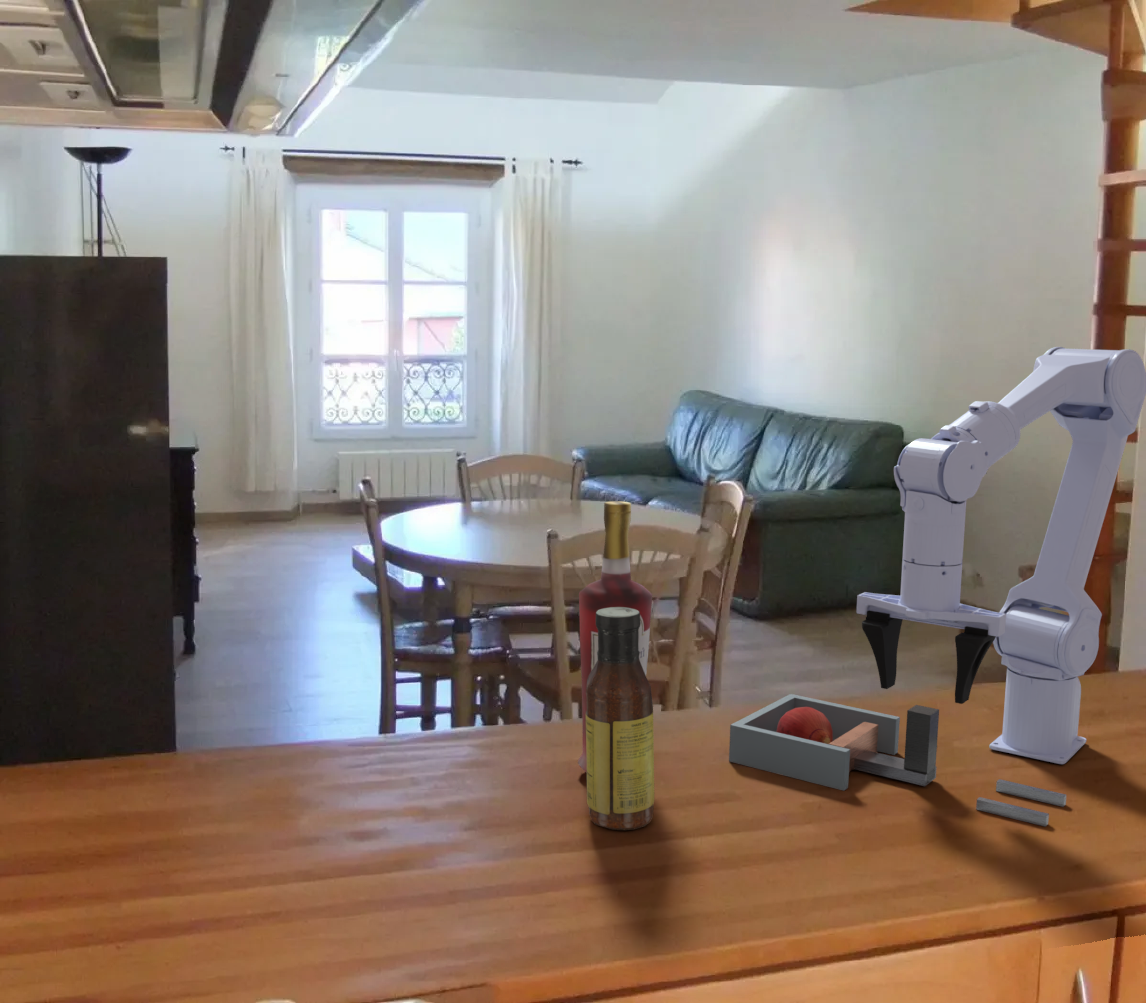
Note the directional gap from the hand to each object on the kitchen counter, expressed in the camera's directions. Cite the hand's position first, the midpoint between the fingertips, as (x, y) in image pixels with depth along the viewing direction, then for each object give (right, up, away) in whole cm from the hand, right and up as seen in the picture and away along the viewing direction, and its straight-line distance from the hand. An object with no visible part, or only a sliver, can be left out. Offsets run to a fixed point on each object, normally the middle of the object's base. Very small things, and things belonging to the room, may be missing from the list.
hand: (924, 693), depth 124 cm
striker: (-3, -9, +3) cm, 10 cm away
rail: (+8, -10, -5) cm, 14 cm away
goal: (-9, -8, +8) cm, 14 cm away
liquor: (-31, -9, +2) cm, 33 cm away
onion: (-9, -6, +3) cm, 11 cm away
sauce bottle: (-31, -10, -9) cm, 34 cm away
